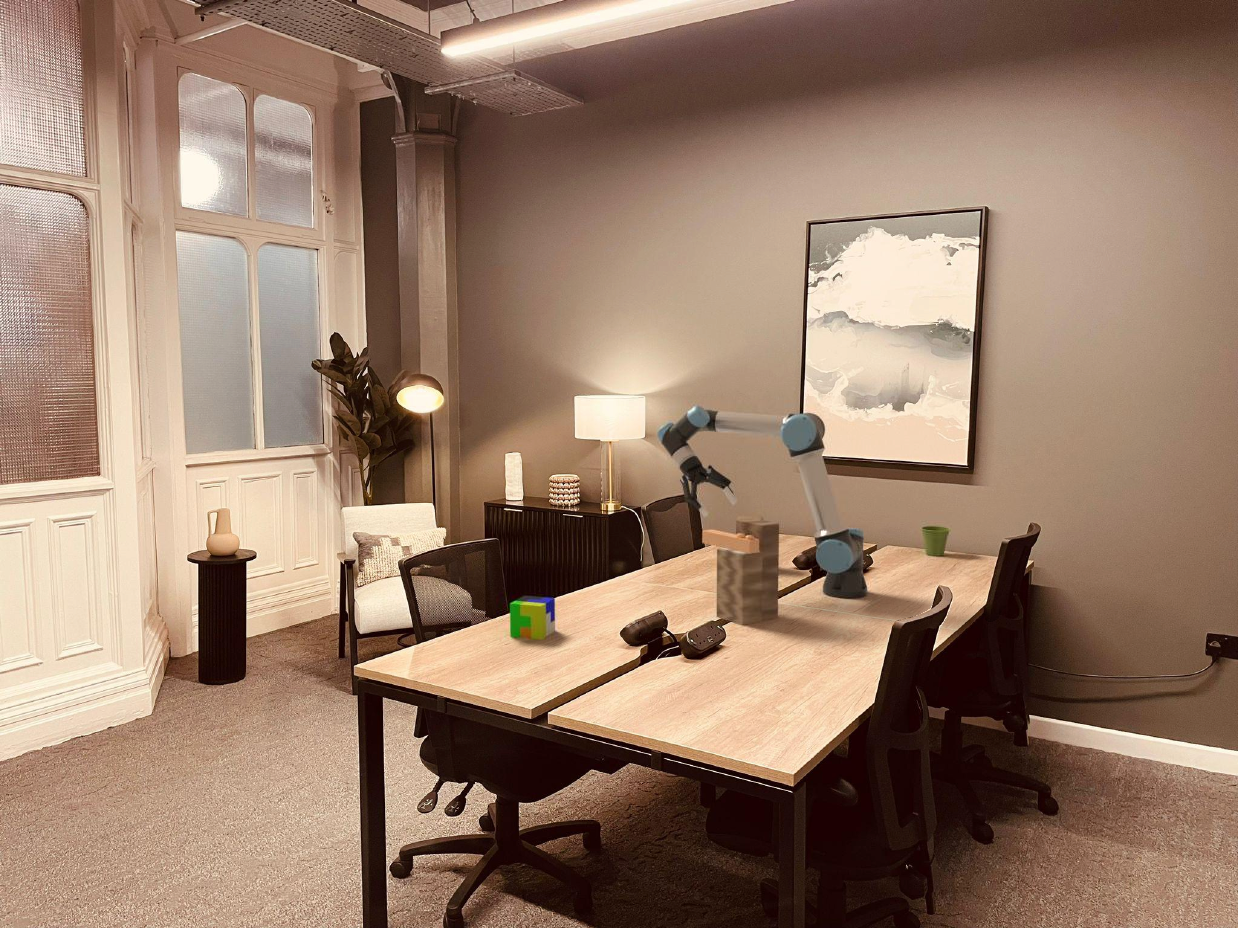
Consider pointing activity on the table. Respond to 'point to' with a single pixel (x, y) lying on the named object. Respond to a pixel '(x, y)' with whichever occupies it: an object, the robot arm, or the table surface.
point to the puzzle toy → (532, 617)
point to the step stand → (749, 576)
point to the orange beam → (731, 541)
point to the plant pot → (935, 539)
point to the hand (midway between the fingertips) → (721, 509)
